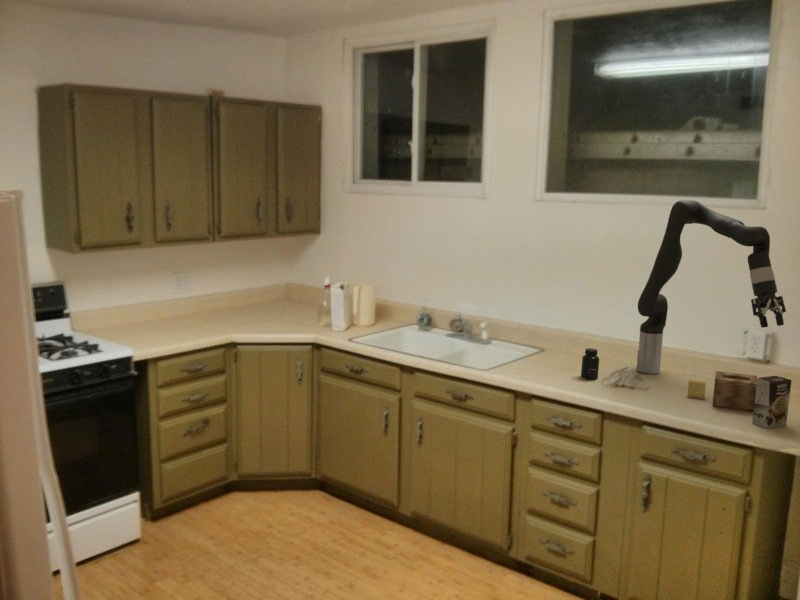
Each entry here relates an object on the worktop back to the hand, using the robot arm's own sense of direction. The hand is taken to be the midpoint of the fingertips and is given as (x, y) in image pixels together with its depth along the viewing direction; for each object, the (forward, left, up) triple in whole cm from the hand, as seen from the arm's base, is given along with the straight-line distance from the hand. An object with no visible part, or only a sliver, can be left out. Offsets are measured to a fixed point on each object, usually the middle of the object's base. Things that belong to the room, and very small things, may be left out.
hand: (772, 326), depth 257 cm
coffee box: (+1, -16, -31) cm, 35 cm away
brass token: (-23, +6, -31) cm, 39 cm away
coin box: (-10, +2, -31) cm, 32 cm away
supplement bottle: (-64, +14, -31) cm, 72 cm away
